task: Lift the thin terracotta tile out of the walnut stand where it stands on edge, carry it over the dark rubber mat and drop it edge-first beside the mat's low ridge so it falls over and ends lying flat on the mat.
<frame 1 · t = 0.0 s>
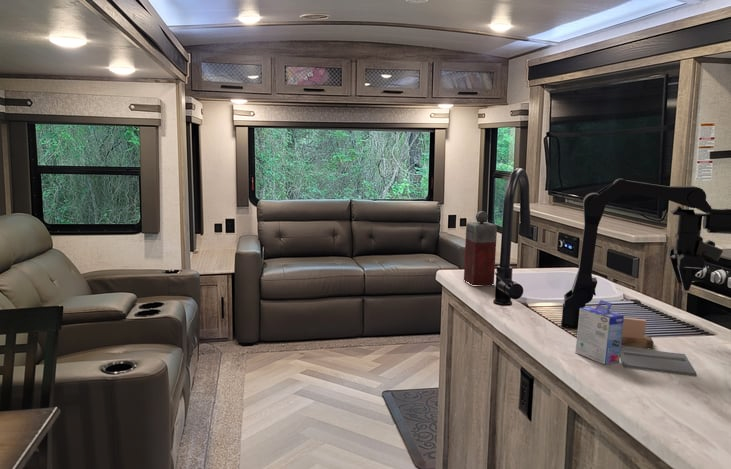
hand: (683, 286, 167), 15 cm above the counter, tool pointing down, fingers open, 9 cm apart
mat: (654, 361, 149), on the counter
square decanter: (477, 283, 231), on the counter
ink cartridge box: (597, 358, 151), on the counter
stand: (627, 343, 163), on the counter
tile: (628, 331, 162), in the stand
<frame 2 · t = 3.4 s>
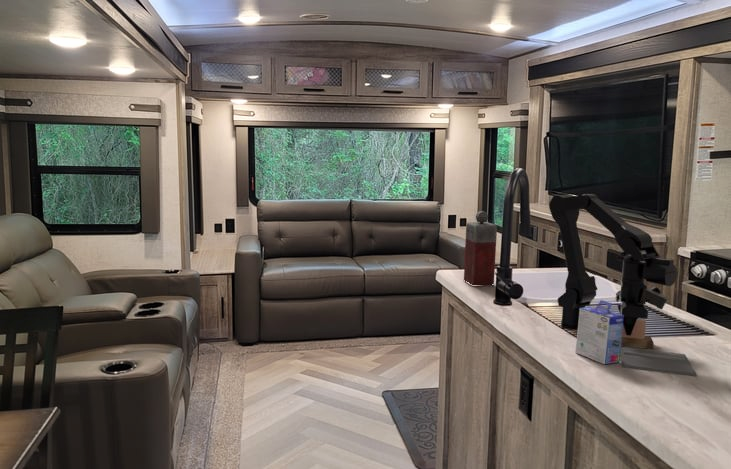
hand: (628, 334, 163), 2 cm above the counter, tool pointing down, fingers closed on tile, 1 cm apart
tile: (628, 330, 162), in the stand, touching gripper
everything else where it was.
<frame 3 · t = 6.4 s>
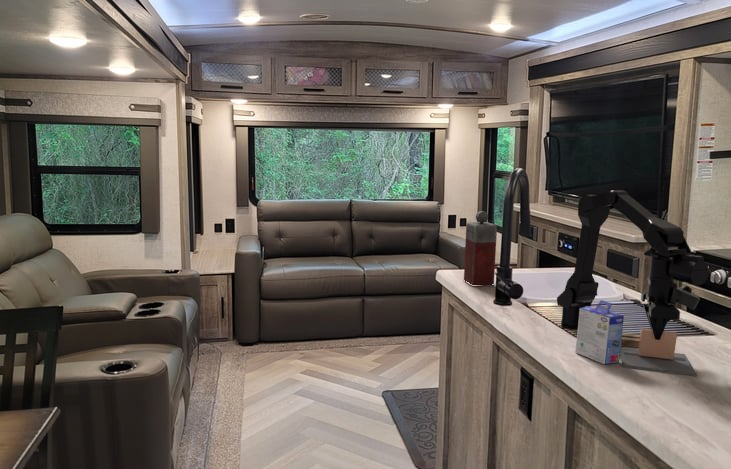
hand: (656, 337, 150), 6 cm above the counter, tool pointing down, fingers open, 4 cm apart
tile: (657, 343, 149), on the mat, point 4 cm above the counter, tilted 10°
everything else where it was.
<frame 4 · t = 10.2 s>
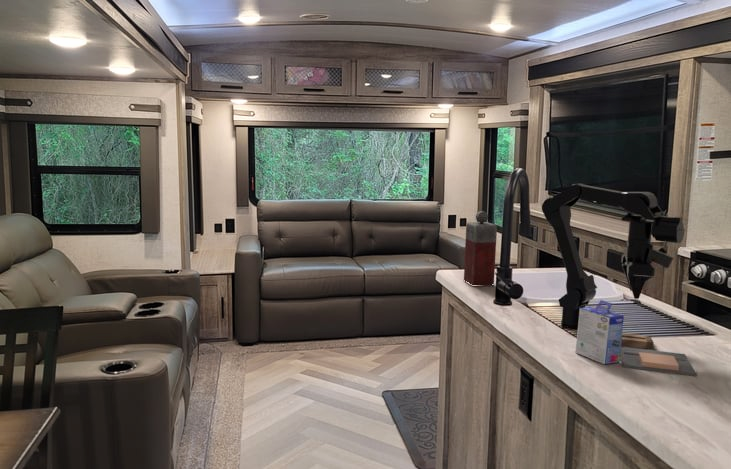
hand: (634, 294, 164), 13 cm above the counter, tool pointing down, fingers open, 9 cm apart
tile: (658, 361, 146), point 1 cm above the counter, tilted 90°, touching mat
everything else where it was.
at the end: tile tilted 90°; tile inside the target area (0.6 cm from its centre), point 1.2 cm above the counter; the gripper is holding nothing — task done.
